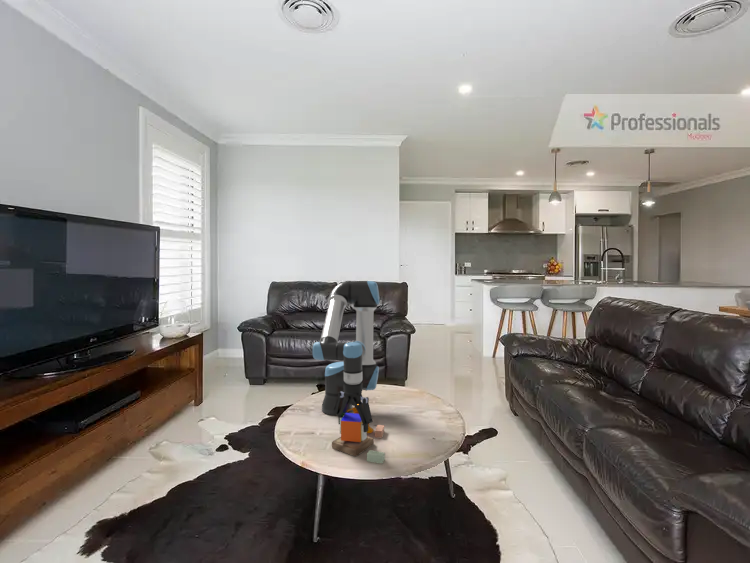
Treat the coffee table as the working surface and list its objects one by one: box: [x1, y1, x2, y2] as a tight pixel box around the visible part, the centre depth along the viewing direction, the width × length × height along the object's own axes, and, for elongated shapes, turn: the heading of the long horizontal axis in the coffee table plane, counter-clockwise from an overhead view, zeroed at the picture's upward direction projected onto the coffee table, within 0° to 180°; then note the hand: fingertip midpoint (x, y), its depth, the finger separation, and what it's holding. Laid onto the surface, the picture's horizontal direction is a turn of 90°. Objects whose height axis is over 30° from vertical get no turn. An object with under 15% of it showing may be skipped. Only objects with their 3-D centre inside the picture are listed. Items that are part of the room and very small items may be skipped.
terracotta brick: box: [374, 424, 385, 439], centre depth 168 cm, size 6×3×3 cm, turn 170°
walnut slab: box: [331, 435, 375, 457], centre depth 157 cm, size 12×12×3 cm
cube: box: [340, 412, 363, 442], centre depth 157 cm, size 8×8×8 cm
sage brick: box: [366, 449, 386, 464], centre depth 146 cm, size 6×3×3 cm, turn 71°
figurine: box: [347, 404, 375, 434], centre depth 171 cm, size 8×11×12 cm
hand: (353, 435), depth 157 cm, fingers closed on cube, 10 cm apart
